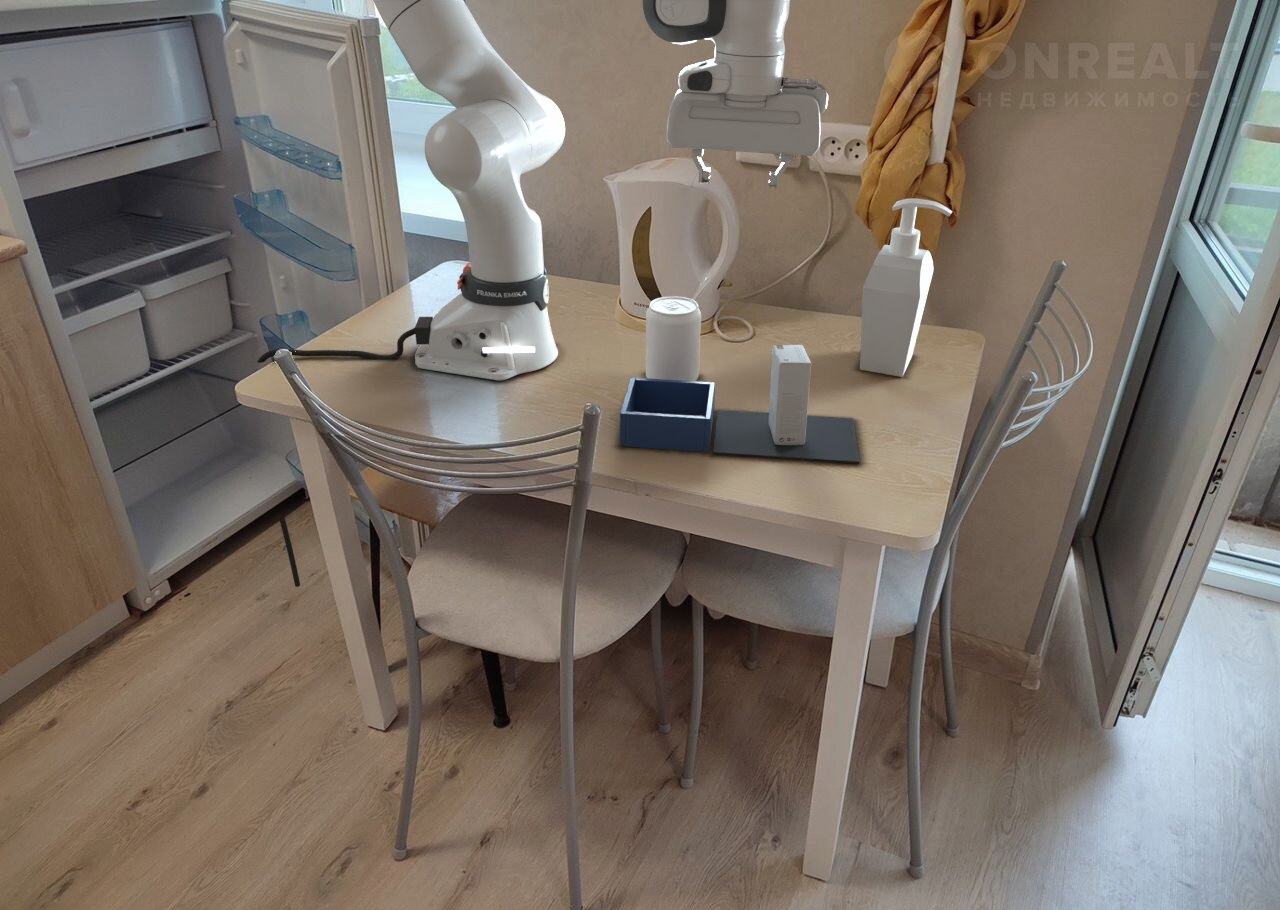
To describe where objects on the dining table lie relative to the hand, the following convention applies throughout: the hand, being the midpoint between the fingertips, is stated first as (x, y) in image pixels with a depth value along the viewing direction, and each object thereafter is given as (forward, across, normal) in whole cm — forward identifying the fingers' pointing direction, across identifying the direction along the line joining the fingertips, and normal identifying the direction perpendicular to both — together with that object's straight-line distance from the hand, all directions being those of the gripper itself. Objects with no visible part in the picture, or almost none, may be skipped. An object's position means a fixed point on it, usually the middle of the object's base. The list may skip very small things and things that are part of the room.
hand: (738, 184), depth 127 cm
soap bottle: (+30, -26, -10) cm, 41 cm away
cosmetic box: (+29, -9, +16) cm, 35 cm away
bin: (+30, +7, +16) cm, 35 cm away
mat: (+30, -9, +16) cm, 35 cm away
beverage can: (+30, +8, 0) cm, 31 cm away
